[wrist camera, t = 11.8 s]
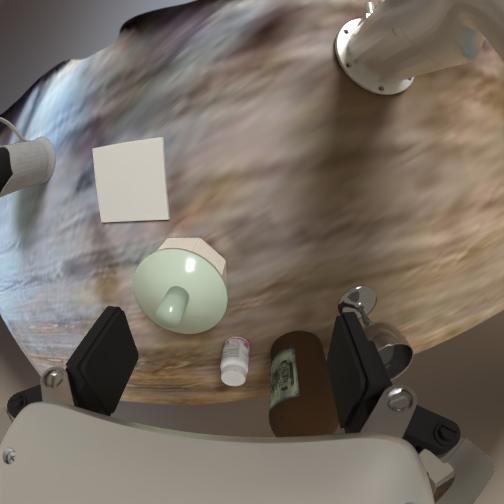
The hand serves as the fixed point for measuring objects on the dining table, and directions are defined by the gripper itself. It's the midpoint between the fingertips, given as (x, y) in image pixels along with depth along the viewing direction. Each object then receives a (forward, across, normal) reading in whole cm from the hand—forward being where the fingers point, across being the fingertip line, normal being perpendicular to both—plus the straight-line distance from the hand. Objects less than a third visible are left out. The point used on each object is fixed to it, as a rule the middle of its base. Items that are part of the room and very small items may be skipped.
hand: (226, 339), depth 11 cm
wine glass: (+28, -18, +18) cm, 38 cm away
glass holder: (+28, +38, -12) cm, 49 cm away
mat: (+28, +18, -3) cm, 34 cm away
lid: (+22, +10, +12) cm, 27 cm away
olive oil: (+28, -8, +28) cm, 41 cm away
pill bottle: (+28, +3, +27) cm, 39 cm away
